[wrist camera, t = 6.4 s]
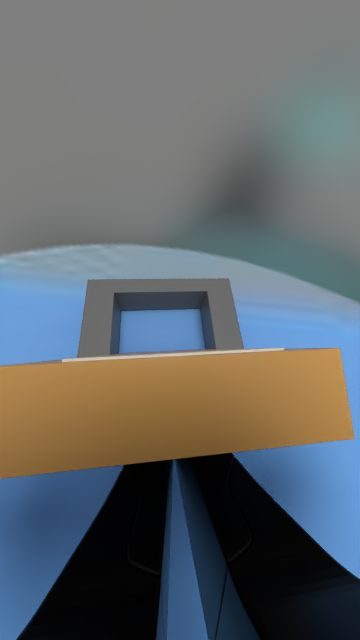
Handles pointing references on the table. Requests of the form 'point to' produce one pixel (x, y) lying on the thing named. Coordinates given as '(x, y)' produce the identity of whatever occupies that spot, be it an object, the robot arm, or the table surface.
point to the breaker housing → (156, 295)
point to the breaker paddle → (167, 406)
